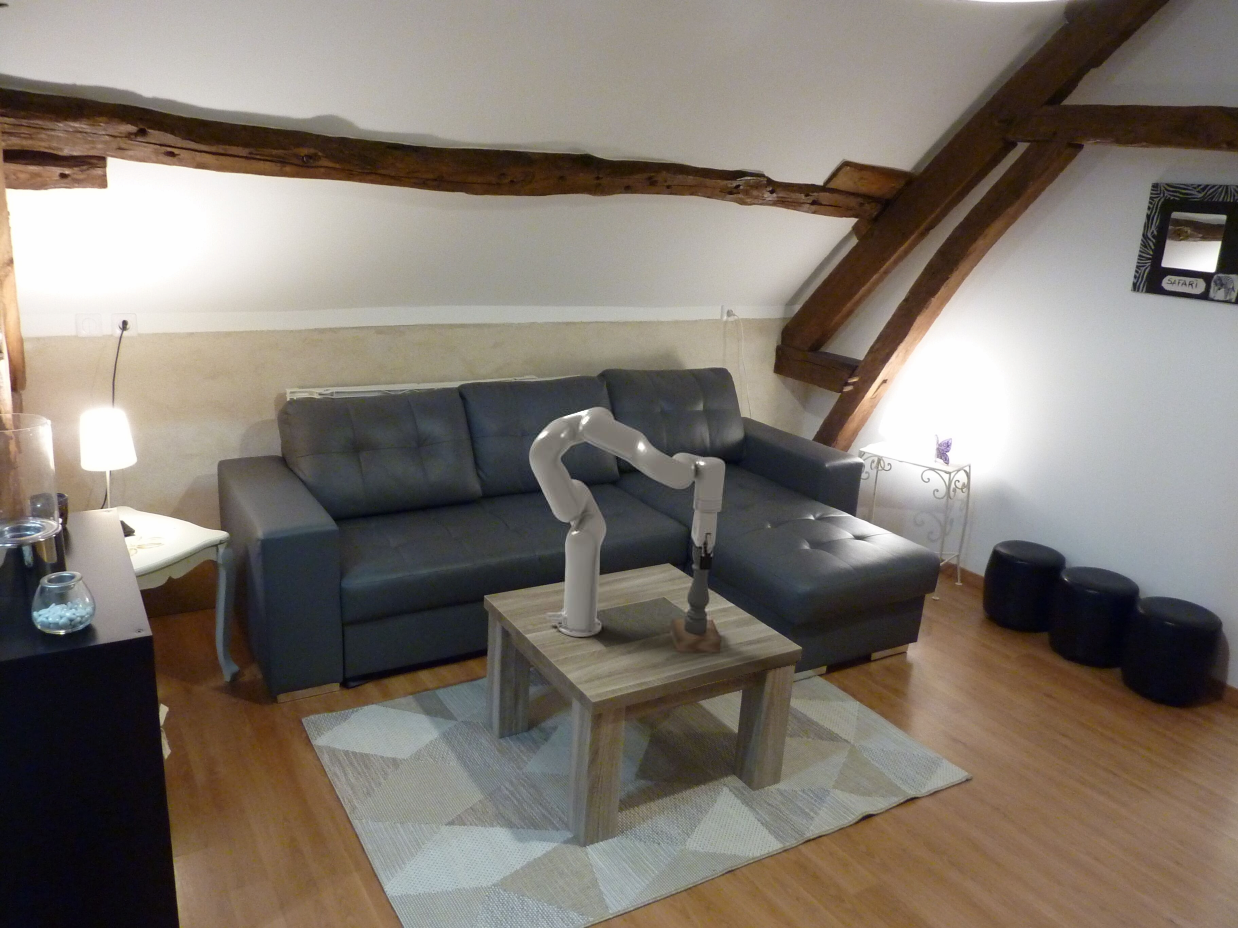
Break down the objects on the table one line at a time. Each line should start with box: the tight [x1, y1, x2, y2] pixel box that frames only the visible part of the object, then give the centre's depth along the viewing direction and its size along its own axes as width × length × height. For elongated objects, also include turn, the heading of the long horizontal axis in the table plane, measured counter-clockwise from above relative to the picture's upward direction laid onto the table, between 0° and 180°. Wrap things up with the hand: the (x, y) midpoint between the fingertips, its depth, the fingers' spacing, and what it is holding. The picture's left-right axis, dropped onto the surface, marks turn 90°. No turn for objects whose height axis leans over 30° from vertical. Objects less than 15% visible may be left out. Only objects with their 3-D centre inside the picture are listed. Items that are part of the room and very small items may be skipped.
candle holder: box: [684, 542, 715, 634], centre depth 263 cm, size 6×6×25 cm
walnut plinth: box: [670, 618, 722, 653], centre depth 267 cm, size 12×12×4 cm
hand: (701, 562), depth 261 cm, fingers open, 9 cm apart
